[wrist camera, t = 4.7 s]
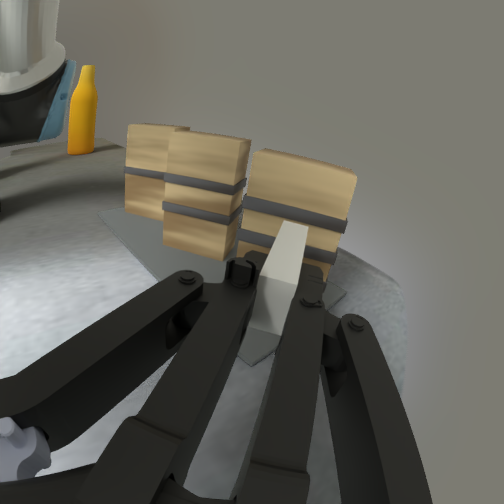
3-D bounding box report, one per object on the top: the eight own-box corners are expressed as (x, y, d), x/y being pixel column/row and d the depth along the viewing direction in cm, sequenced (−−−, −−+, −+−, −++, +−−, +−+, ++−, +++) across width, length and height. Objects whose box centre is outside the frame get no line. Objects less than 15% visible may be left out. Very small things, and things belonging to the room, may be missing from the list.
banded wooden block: (167, 223, 35) (175, 128, 29) (123, 211, 36) (126, 124, 30) (182, 212, 38) (191, 127, 33) (140, 203, 39) (145, 123, 34)
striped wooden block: (312, 322, 22) (359, 178, 17) (227, 299, 23) (250, 152, 18) (315, 294, 26) (352, 169, 20) (241, 274, 27) (263, 147, 21)
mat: (98, 214, 34) (97, 211, 34) (179, 199, 44) (179, 197, 44) (251, 366, 18) (252, 363, 18) (345, 294, 27) (346, 291, 27)
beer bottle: (98, 152, 75) (107, 64, 62) (73, 156, 68) (81, 63, 54) (87, 149, 79) (95, 68, 65) (63, 153, 71) (71, 68, 58)
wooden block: (223, 262, 28) (241, 142, 23) (160, 244, 29) (168, 132, 24) (235, 245, 32) (253, 140, 27) (178, 230, 33) (188, 130, 28)
